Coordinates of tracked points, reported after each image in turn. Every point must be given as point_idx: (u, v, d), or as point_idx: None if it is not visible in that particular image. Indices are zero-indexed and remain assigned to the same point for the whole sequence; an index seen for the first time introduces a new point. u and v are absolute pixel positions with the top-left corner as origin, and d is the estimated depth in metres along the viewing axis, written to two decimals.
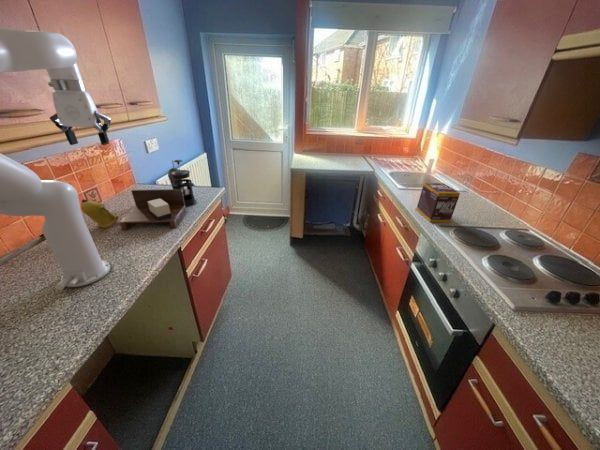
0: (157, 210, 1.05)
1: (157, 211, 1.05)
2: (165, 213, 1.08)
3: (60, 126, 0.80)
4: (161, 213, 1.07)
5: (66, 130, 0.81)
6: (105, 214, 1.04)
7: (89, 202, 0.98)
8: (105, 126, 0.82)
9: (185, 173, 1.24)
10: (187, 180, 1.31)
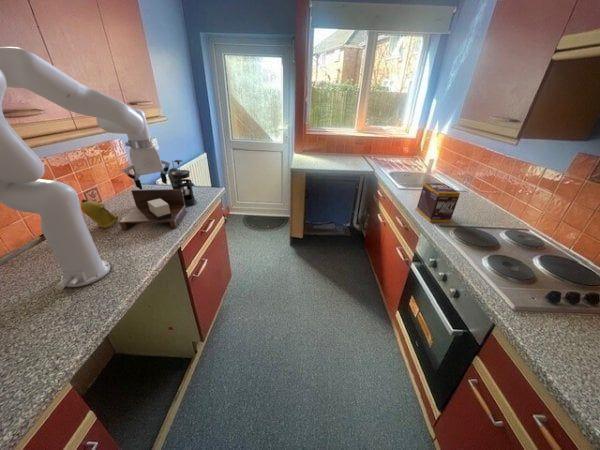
0: (157, 210, 1.05)
1: (157, 211, 1.05)
2: (165, 213, 1.08)
3: (132, 176, 0.97)
4: (161, 213, 1.07)
5: None
6: (105, 214, 1.04)
7: (89, 202, 0.98)
8: (167, 169, 1.06)
9: (185, 173, 1.24)
10: (187, 180, 1.31)
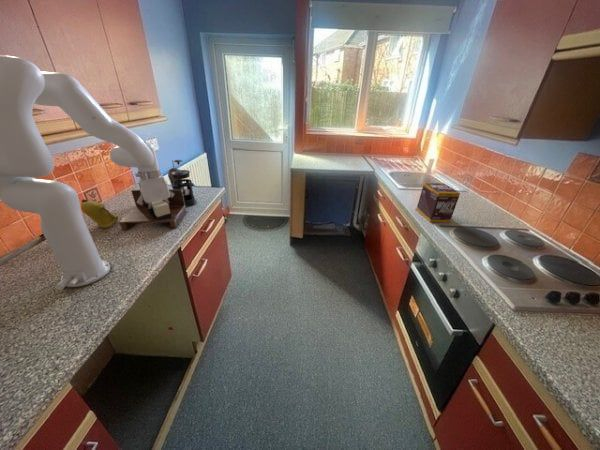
0: (157, 210, 1.05)
1: (157, 211, 1.05)
2: (165, 213, 1.08)
3: (146, 205, 1.05)
4: (161, 213, 1.07)
5: (151, 207, 1.06)
6: (105, 214, 1.04)
7: (89, 202, 0.98)
8: (170, 198, 1.11)
9: (185, 173, 1.24)
10: (187, 180, 1.31)
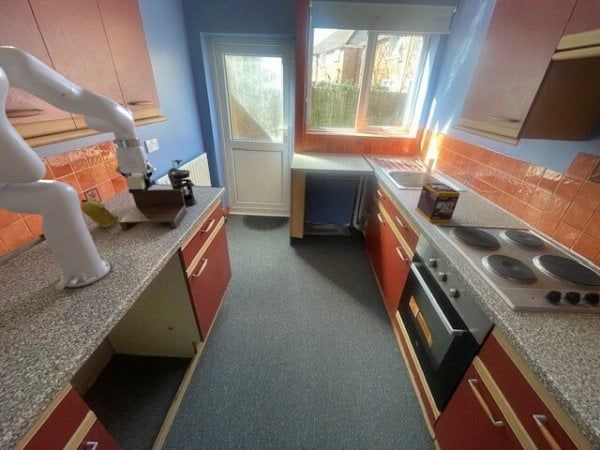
0: (128, 182, 0.99)
1: (128, 183, 0.99)
2: (137, 187, 1.01)
3: (124, 174, 1.01)
4: (132, 186, 1.00)
5: None
6: (105, 214, 1.04)
7: (89, 202, 0.98)
8: (150, 174, 1.02)
9: (185, 173, 1.24)
10: (187, 180, 1.31)
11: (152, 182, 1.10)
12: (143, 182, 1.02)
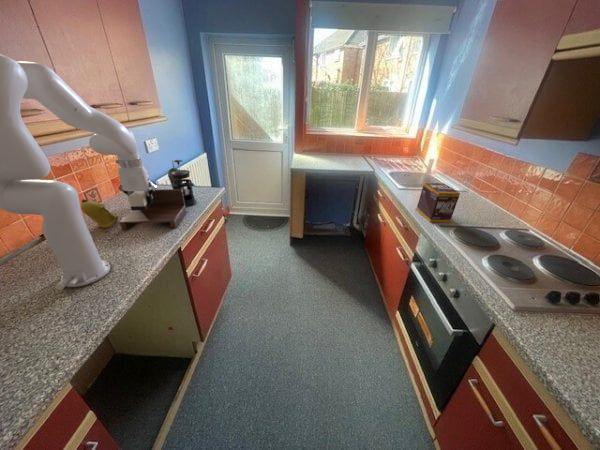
0: (130, 200, 1.03)
1: (130, 201, 1.03)
2: (139, 205, 1.04)
3: (126, 192, 1.05)
4: (134, 204, 1.04)
5: None
6: (105, 214, 1.04)
7: (89, 202, 0.98)
8: (151, 191, 1.06)
9: (185, 173, 1.24)
10: (187, 180, 1.31)
11: (153, 198, 1.13)
12: (145, 199, 1.05)
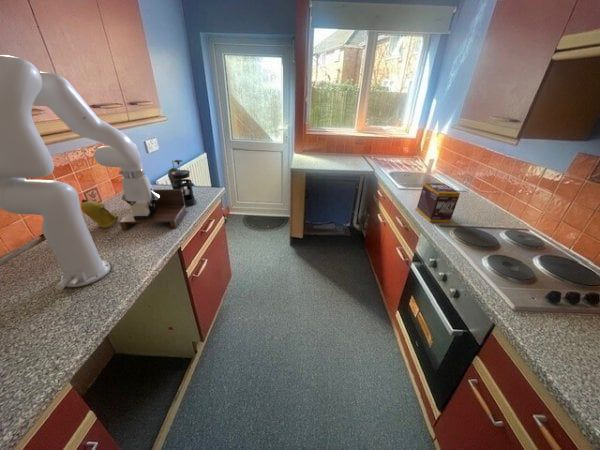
0: (133, 209, 1.05)
1: (133, 210, 1.05)
2: (141, 214, 1.06)
3: (129, 202, 1.07)
4: (137, 213, 1.06)
5: None
6: (105, 214, 1.04)
7: (89, 202, 0.98)
8: (154, 201, 1.08)
9: (185, 173, 1.24)
10: (187, 180, 1.31)
11: (155, 207, 1.15)
12: (147, 209, 1.08)
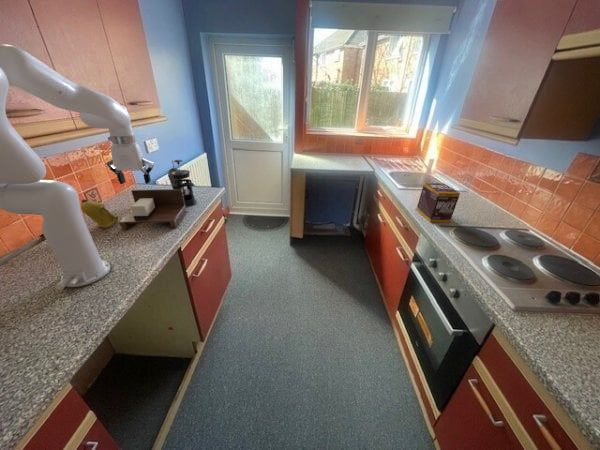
0: (133, 209, 1.05)
1: (133, 210, 1.05)
2: (141, 214, 1.06)
3: (113, 170, 1.00)
4: (137, 213, 1.06)
5: (118, 173, 1.00)
6: (105, 214, 1.04)
7: (89, 202, 0.98)
8: (149, 169, 1.01)
9: (185, 173, 1.24)
10: (187, 180, 1.31)
11: (155, 207, 1.15)
12: (147, 209, 1.08)
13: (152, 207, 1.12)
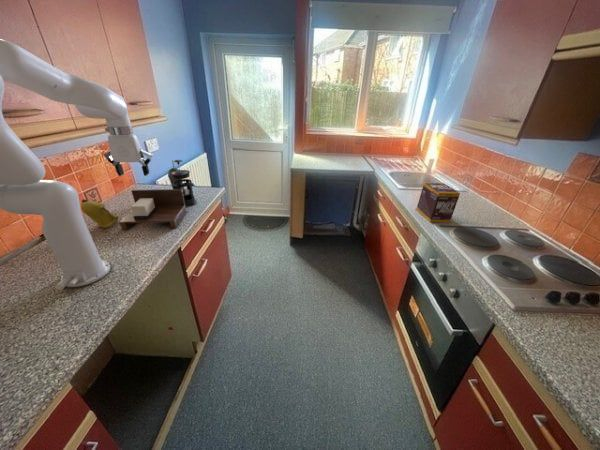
0: (133, 209, 1.05)
1: (133, 210, 1.05)
2: (141, 214, 1.06)
3: (111, 161, 0.98)
4: (137, 213, 1.06)
5: (116, 164, 0.99)
6: (105, 214, 1.04)
7: (89, 202, 0.98)
8: (147, 161, 1.00)
9: (185, 173, 1.24)
10: (187, 180, 1.31)
11: (155, 207, 1.15)
12: (147, 209, 1.08)
13: (152, 207, 1.12)
